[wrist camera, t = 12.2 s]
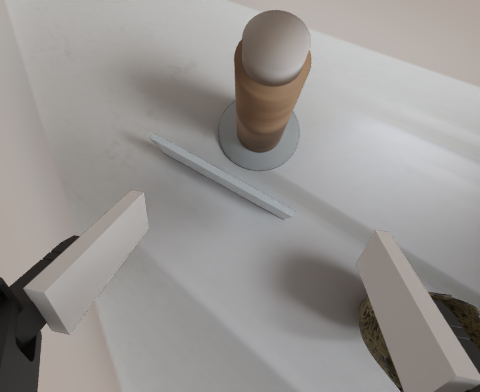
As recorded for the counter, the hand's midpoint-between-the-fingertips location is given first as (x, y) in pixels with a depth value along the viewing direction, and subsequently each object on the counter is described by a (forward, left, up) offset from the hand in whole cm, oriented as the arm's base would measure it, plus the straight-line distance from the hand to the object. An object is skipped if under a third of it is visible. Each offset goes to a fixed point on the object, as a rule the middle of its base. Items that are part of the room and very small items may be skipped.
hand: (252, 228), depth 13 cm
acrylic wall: (+5, -3, -11) cm, 12 cm away
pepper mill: (+4, -10, -10) cm, 15 cm away
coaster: (+4, -10, -11) cm, 15 cm away
